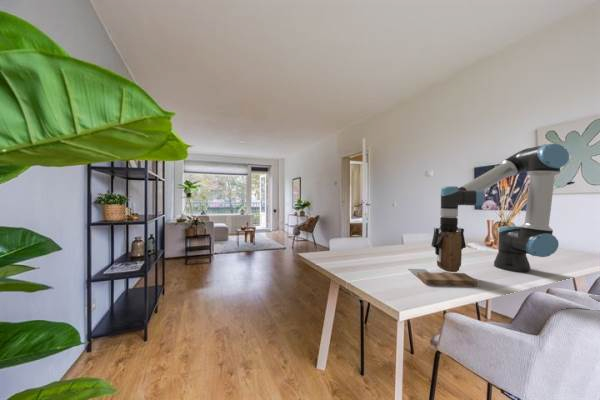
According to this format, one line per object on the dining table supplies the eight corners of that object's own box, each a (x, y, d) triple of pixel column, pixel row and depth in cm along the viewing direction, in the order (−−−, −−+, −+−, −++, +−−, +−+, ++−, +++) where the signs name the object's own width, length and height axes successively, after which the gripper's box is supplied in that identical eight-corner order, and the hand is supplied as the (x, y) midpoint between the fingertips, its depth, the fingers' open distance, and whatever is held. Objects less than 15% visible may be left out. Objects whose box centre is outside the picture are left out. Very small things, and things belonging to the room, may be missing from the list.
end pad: (425, 269, 131) (425, 269, 131) (435, 277, 119) (435, 276, 119) (407, 269, 132) (407, 268, 132) (416, 276, 120) (416, 276, 120)
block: (462, 272, 120) (463, 232, 119) (449, 273, 119) (450, 232, 118) (446, 266, 130) (447, 228, 130) (433, 266, 129) (434, 229, 129)
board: (464, 278, 118) (464, 273, 118) (477, 286, 108) (477, 280, 108) (417, 277, 119) (417, 271, 119) (426, 284, 109) (426, 279, 109)
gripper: (466, 216, 127) (465, 259, 127) (424, 215, 128) (423, 258, 129) (475, 217, 119) (474, 263, 120) (430, 217, 121) (429, 262, 121)
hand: (448, 261), depth 124 cm, fingers closed on block, 8 cm apart
